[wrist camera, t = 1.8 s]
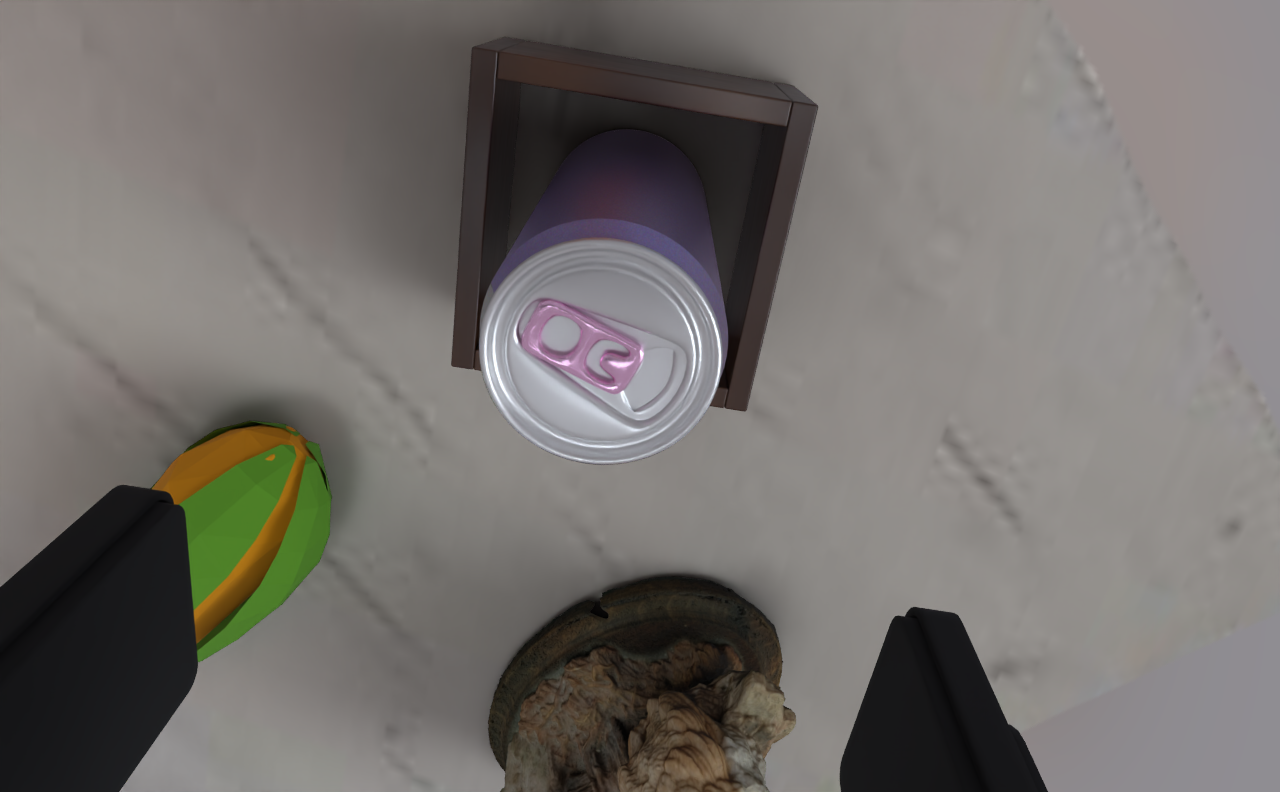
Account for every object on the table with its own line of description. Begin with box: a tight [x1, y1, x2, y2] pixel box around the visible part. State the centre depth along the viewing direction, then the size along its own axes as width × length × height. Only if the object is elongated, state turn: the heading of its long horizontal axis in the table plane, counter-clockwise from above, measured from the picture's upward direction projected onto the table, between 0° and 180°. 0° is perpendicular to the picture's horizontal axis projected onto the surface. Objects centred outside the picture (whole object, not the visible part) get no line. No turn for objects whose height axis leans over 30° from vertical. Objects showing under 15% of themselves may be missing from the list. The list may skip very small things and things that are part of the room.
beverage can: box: [479, 129, 728, 465], centre depth 26 cm, size 6×6×15 cm
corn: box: [151, 421, 332, 662], centre depth 37 cm, size 7×8×20 cm
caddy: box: [451, 37, 818, 411], centre depth 31 cm, size 11×11×6 cm
